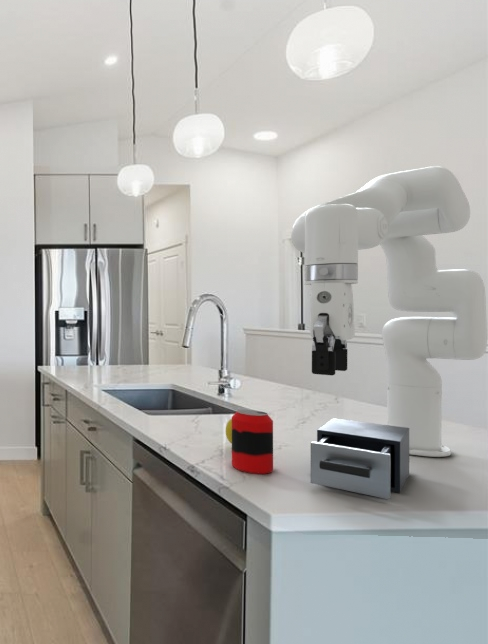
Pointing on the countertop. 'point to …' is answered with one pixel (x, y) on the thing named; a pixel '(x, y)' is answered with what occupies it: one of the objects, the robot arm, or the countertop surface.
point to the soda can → (252, 442)
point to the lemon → (229, 431)
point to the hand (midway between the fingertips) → (329, 372)
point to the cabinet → (375, 434)
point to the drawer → (353, 465)
